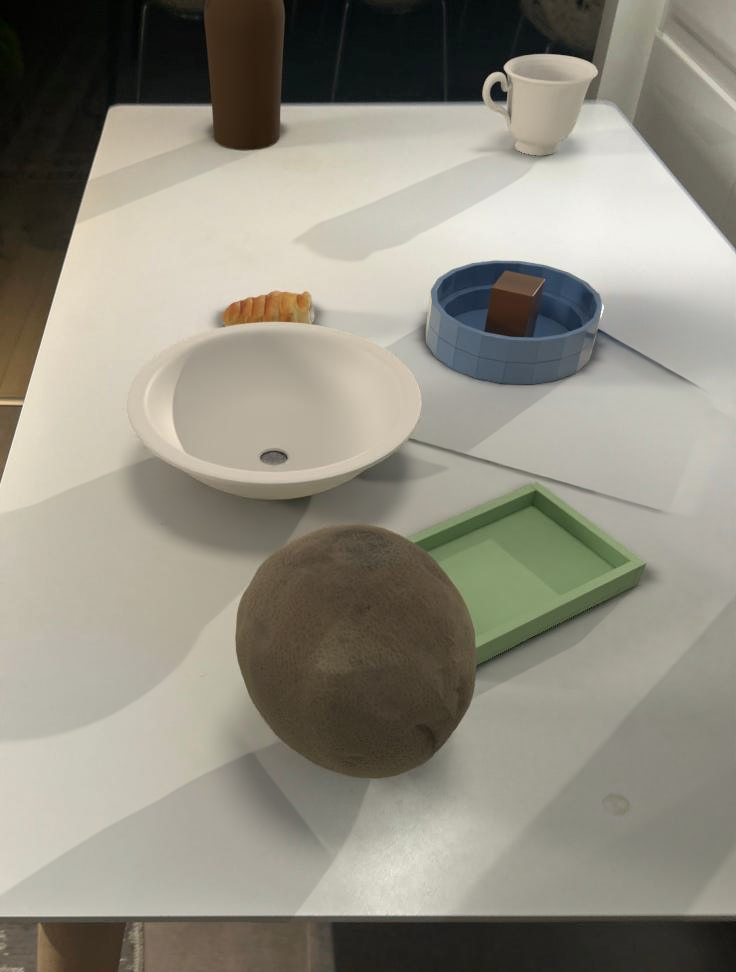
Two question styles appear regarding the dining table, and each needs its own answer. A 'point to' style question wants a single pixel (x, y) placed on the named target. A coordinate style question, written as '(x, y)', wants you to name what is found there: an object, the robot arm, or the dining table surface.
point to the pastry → (271, 309)
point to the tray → (527, 565)
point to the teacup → (541, 98)
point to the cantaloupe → (357, 650)
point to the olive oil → (245, 70)
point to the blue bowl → (504, 359)
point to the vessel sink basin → (274, 407)
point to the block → (514, 305)
